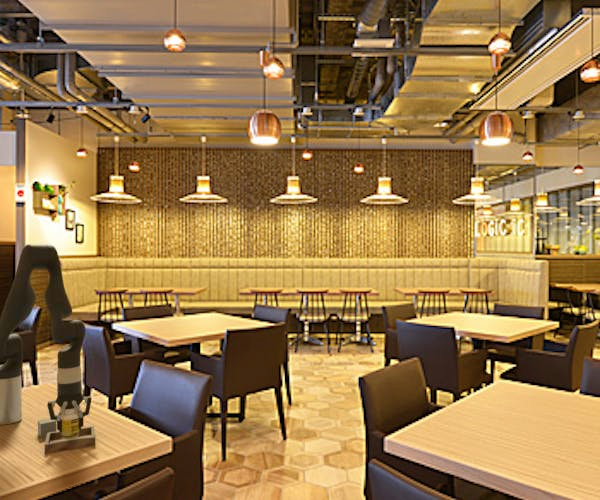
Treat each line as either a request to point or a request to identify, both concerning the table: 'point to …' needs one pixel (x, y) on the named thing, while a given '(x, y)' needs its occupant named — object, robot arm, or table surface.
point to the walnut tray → (70, 440)
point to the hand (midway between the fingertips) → (70, 429)
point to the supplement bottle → (70, 424)
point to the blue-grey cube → (46, 427)
